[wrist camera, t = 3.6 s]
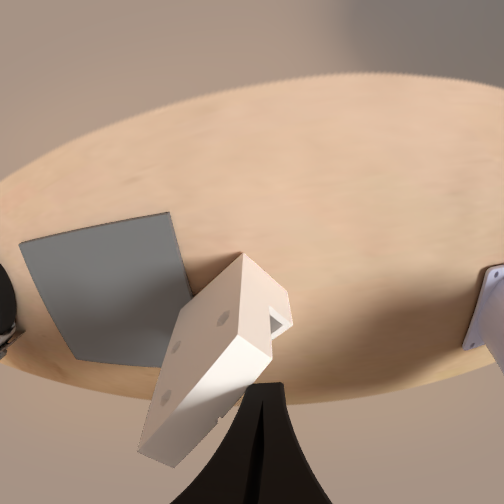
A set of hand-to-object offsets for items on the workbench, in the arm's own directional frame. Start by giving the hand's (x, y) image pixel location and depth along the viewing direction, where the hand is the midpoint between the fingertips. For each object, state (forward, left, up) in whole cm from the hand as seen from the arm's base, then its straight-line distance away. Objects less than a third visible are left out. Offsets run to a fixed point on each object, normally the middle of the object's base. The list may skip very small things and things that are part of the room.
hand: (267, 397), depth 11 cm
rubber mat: (+12, 0, -7) cm, 14 cm away
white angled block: (+2, 0, -7) cm, 8 cm away
